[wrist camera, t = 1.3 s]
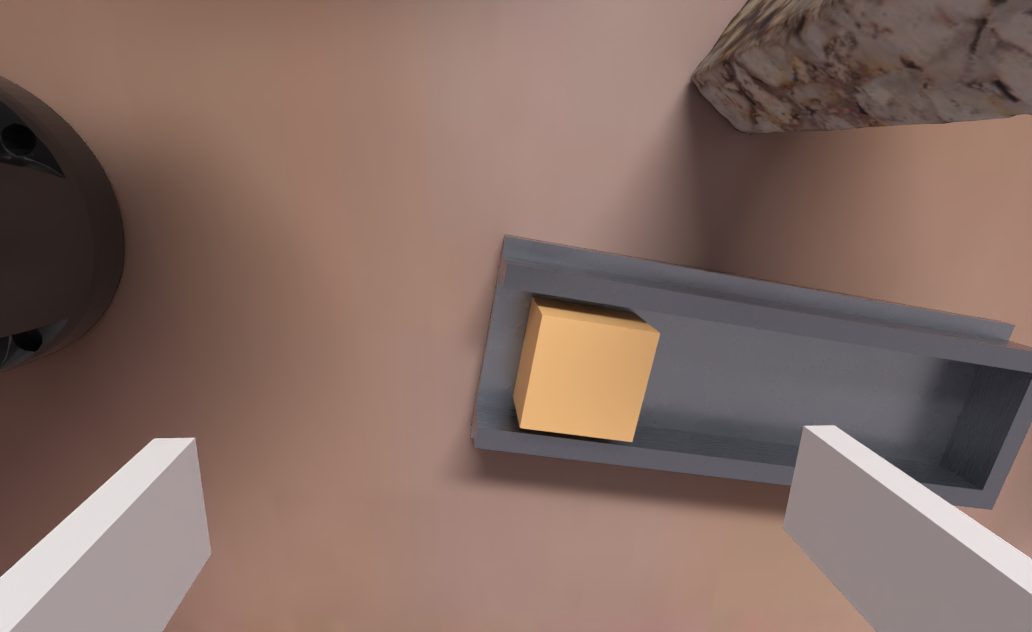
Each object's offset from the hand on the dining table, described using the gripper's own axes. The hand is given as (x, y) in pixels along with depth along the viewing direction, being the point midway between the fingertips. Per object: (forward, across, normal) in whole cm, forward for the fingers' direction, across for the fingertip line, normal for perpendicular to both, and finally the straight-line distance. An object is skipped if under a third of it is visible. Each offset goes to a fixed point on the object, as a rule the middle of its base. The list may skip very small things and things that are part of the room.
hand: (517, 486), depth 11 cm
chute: (+19, +16, -5) cm, 25 cm away
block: (+18, +5, -3) cm, 19 cm away
